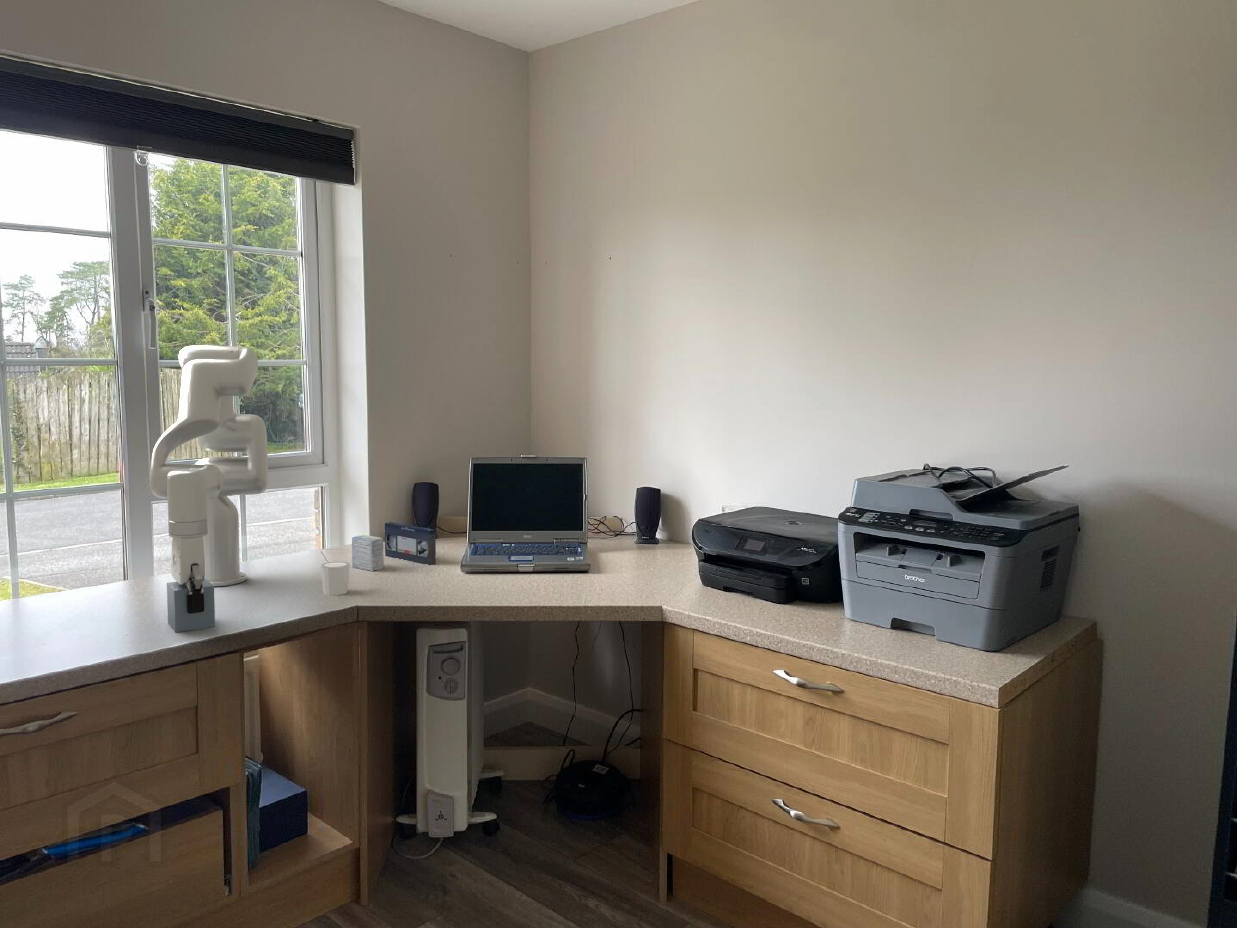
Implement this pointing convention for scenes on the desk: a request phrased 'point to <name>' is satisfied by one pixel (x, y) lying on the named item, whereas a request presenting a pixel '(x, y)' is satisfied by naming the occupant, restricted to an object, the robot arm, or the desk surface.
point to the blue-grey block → (178, 608)
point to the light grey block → (367, 552)
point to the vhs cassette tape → (410, 543)
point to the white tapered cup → (335, 577)
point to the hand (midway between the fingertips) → (190, 606)
